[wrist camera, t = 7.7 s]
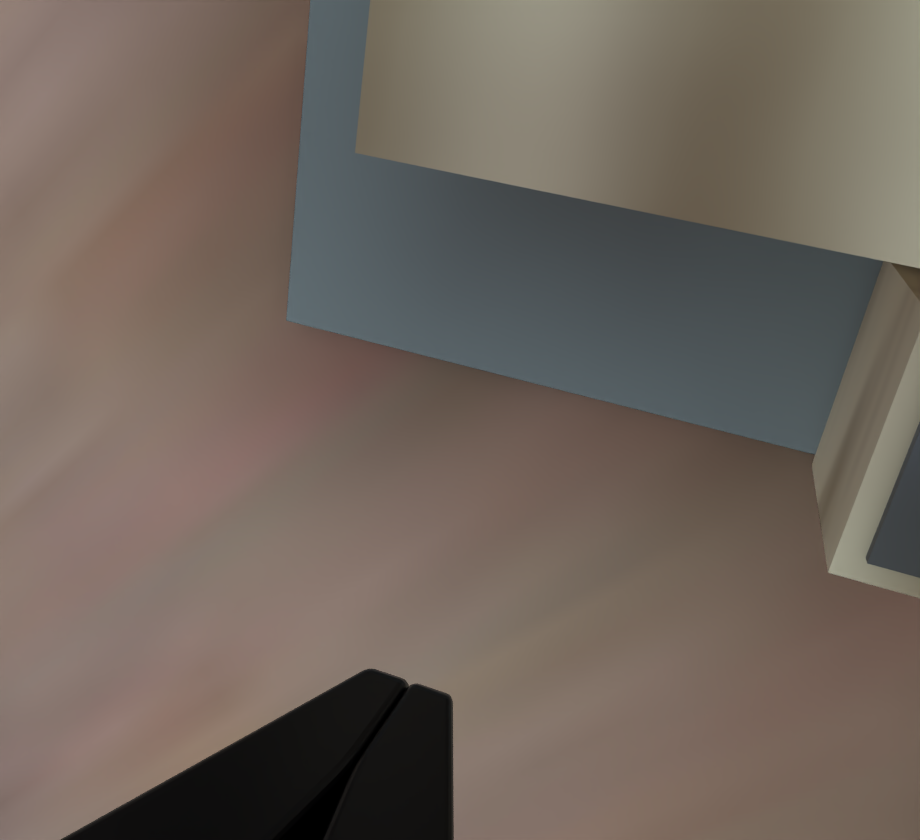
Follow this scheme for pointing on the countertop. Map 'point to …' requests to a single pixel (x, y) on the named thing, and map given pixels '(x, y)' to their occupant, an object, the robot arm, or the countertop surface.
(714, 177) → the plain bar
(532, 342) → the mat
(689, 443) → the countertop surface
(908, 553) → the number block
